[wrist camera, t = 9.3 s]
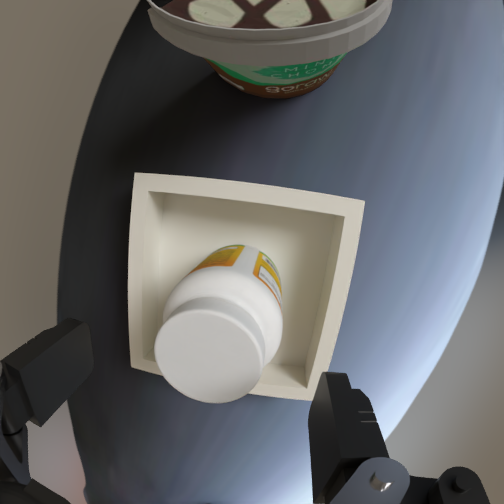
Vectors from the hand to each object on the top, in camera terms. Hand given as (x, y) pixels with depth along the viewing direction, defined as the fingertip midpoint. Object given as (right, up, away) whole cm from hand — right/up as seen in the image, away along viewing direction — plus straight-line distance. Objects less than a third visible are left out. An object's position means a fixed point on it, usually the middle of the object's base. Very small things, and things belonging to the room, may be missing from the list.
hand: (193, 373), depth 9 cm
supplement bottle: (+1, +2, +11) cm, 11 cm away
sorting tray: (+1, +2, +11) cm, 12 cm away
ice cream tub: (+5, +16, +8) cm, 19 cm away
